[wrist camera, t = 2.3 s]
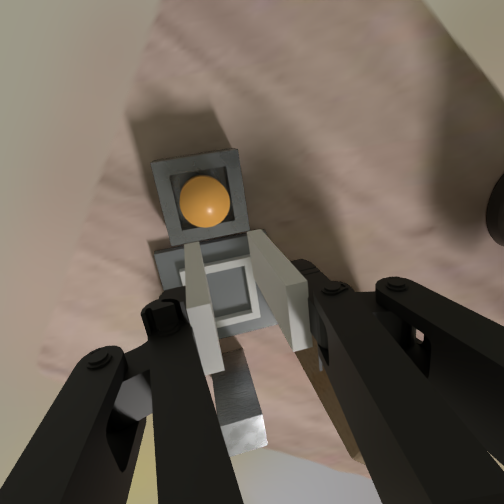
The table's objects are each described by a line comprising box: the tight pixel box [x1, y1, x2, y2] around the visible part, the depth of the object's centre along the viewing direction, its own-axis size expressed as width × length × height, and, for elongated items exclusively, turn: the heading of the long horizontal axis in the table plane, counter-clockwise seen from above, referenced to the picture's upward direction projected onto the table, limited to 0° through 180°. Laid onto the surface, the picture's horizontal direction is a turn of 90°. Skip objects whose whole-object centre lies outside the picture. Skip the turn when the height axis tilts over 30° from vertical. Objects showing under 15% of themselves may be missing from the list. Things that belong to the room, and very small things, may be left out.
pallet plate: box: [154, 229, 278, 339], centre depth 41 cm, size 14×14×2 cm
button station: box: [150, 148, 250, 246], centre depth 35 cm, size 9×9×4 cm
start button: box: [180, 175, 230, 228], centre depth 32 cm, size 5×5×3 cm
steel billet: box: [212, 348, 268, 457], centre depth 41 cm, size 5×5×12 cm
